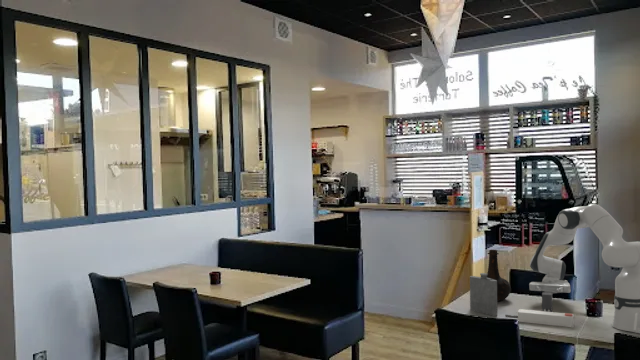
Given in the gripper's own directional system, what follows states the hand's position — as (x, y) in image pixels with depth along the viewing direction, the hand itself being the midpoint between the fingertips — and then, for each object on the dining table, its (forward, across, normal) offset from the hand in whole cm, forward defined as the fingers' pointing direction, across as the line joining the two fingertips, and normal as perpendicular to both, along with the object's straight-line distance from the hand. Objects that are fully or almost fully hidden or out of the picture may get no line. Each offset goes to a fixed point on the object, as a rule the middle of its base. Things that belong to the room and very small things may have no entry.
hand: (549, 290), depth 273 cm
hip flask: (+19, -30, +10) cm, 37 cm away
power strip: (+27, -3, +10) cm, 29 cm away
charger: (+11, -1, +10) cm, 15 cm away
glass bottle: (-11, -29, +9) cm, 32 cm away
